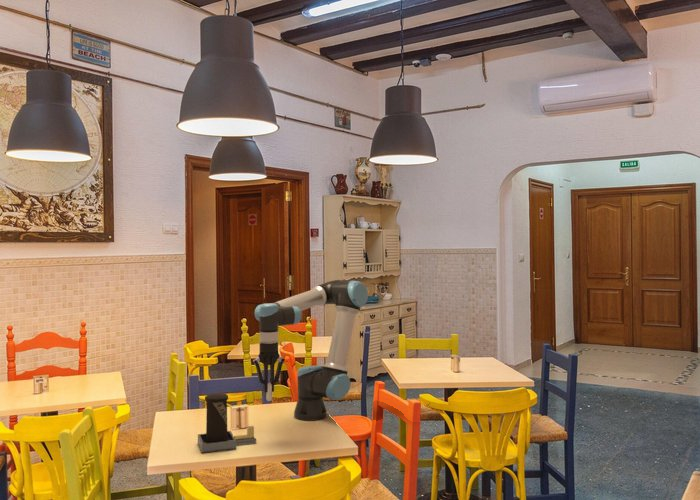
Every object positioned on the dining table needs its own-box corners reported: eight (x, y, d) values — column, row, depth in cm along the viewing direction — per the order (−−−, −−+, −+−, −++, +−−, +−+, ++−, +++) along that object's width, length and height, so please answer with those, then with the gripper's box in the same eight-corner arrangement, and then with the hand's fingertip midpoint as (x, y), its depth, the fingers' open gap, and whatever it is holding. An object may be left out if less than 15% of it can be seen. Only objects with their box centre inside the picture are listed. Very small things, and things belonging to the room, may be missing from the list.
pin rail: (253, 440, 249) (253, 435, 249) (256, 443, 245) (256, 438, 245) (233, 442, 246) (233, 437, 246) (235, 445, 242) (234, 441, 242)
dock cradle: (230, 439, 250) (230, 430, 250) (236, 449, 238) (236, 440, 238) (197, 443, 246) (197, 434, 246) (201, 453, 233) (201, 444, 233)
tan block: (252, 438, 248) (252, 425, 248) (253, 439, 246) (253, 427, 246) (234, 440, 245) (234, 427, 245) (234, 441, 243) (234, 429, 243)
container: (223, 448, 237) (223, 397, 237) (201, 447, 238) (201, 396, 238) (231, 441, 245) (231, 391, 245) (210, 440, 247) (210, 390, 247)
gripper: (282, 339, 255) (282, 396, 255) (250, 341, 250) (251, 399, 250) (287, 342, 248) (287, 400, 248) (254, 344, 243) (254, 403, 243)
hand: (268, 400), depth 249 cm, fingers closed
